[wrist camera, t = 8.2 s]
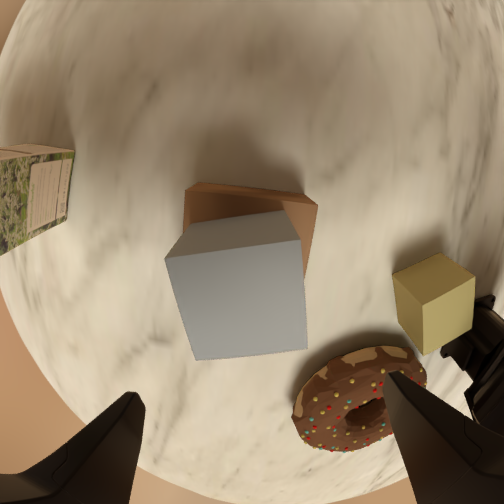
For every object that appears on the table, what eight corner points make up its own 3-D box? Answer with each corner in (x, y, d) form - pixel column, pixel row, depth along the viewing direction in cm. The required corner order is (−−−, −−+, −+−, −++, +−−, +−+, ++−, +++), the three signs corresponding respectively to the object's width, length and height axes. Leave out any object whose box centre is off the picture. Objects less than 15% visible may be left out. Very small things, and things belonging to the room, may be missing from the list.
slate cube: (284, 209, 15) (300, 239, 10) (293, 293, 16) (307, 348, 12) (190, 223, 15) (164, 258, 10) (209, 304, 16) (195, 360, 12)
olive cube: (439, 251, 20) (475, 276, 15) (441, 299, 21) (471, 328, 16) (391, 274, 20) (422, 305, 15) (397, 321, 22) (423, 356, 17)
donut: (276, 424, 27) (279, 461, 22) (315, 330, 22) (328, 371, 17) (384, 421, 27) (396, 451, 23) (439, 337, 23) (463, 367, 18)
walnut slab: (304, 194, 18) (318, 205, 14) (288, 288, 21) (295, 318, 17) (198, 182, 18) (185, 190, 14) (193, 278, 20) (181, 306, 17)
